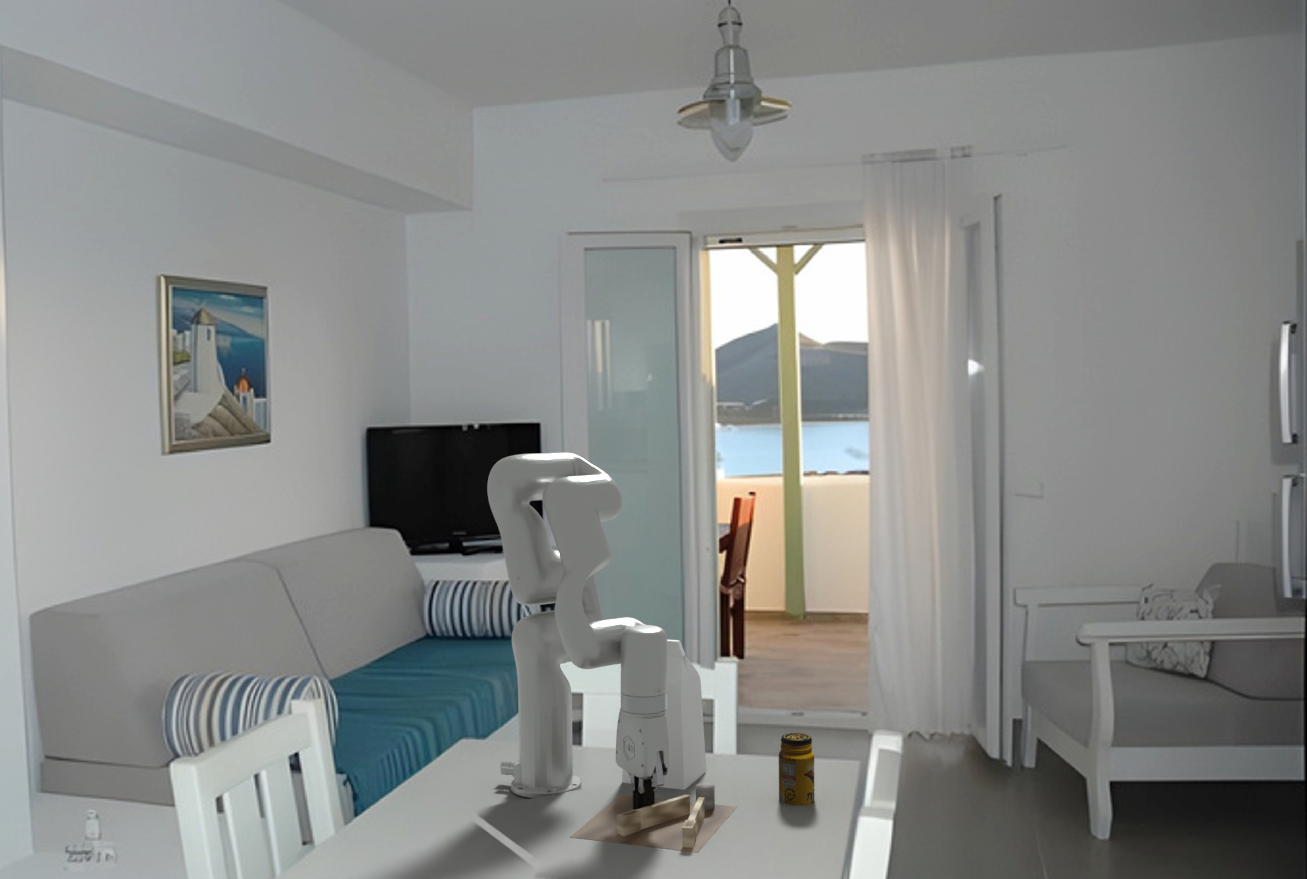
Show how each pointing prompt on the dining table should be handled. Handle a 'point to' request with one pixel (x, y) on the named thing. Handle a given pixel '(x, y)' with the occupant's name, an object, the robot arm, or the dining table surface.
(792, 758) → the condiment
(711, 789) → the beige long slender part
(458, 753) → the dining table surface
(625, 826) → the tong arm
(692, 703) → the milk
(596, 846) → the dining table surface
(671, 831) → the board
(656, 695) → the robot arm
